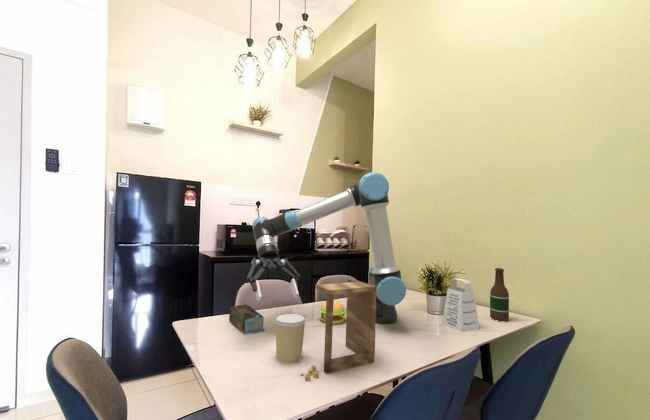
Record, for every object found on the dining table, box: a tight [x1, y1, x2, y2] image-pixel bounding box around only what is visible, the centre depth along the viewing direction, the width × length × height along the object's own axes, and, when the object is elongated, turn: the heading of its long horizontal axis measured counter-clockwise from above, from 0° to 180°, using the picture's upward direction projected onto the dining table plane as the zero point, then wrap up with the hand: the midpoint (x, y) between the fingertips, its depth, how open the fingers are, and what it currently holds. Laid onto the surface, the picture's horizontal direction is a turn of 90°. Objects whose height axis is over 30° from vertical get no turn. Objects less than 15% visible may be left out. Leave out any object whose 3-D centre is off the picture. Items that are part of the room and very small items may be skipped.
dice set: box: [299, 364, 320, 382], centre depth 82 cm, size 5×5×2 cm
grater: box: [441, 278, 480, 332], centre depth 130 cm, size 10×10×20 cm
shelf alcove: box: [315, 278, 377, 374], centre depth 95 cm, size 17×14×23 cm
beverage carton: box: [228, 304, 265, 335], centre depth 121 cm, size 8×19×7 cm, turn 34°
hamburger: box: [318, 300, 347, 325], centre depth 131 cm, size 12×12×9 cm
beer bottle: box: [489, 267, 510, 322], centre depth 143 cm, size 8×8×24 cm
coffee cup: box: [275, 313, 306, 364], centre depth 94 cm, size 9×9×12 cm
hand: (278, 297), depth 103 cm, fingers open, 13 cm apart
